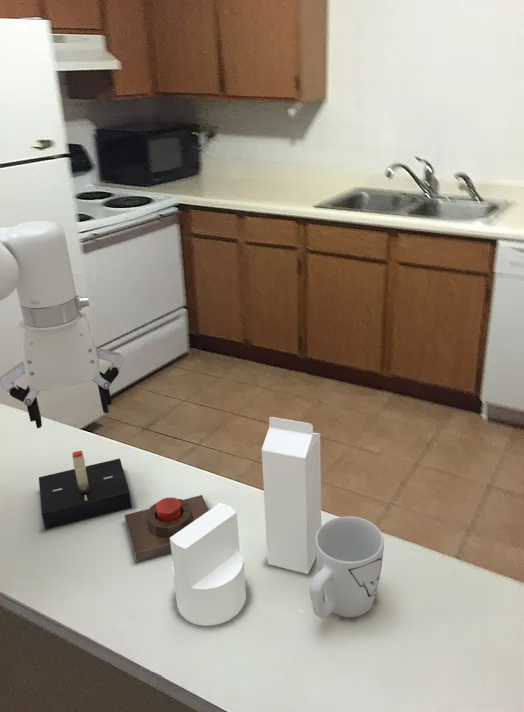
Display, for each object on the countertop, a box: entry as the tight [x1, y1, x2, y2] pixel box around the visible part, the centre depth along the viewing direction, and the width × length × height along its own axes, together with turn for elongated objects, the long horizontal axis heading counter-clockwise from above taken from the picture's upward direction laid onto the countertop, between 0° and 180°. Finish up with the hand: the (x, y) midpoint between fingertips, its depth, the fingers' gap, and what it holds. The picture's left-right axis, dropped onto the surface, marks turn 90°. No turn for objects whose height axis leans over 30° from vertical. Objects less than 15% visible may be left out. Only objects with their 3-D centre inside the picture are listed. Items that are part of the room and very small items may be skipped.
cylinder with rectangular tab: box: [170, 502, 247, 627], centre depth 85 cm, size 9×9×12 cm
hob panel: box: [38, 458, 133, 531], centre depth 106 cm, size 13×10×3 cm
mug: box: [309, 515, 385, 620], centre depth 83 cm, size 11×8×10 cm
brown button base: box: [124, 494, 210, 563], centre depth 99 cm, size 12×9×4 cm
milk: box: [261, 416, 322, 575], centre depth 89 cm, size 6×6×22 cm
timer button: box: [155, 497, 182, 522], centre depth 98 cm, size 4×4×2 cm
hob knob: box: [71, 450, 90, 494], centre depth 105 cm, size 5×2×5 cm, turn 21°
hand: (72, 416), depth 100 cm, fingers open, 9 cm apart
